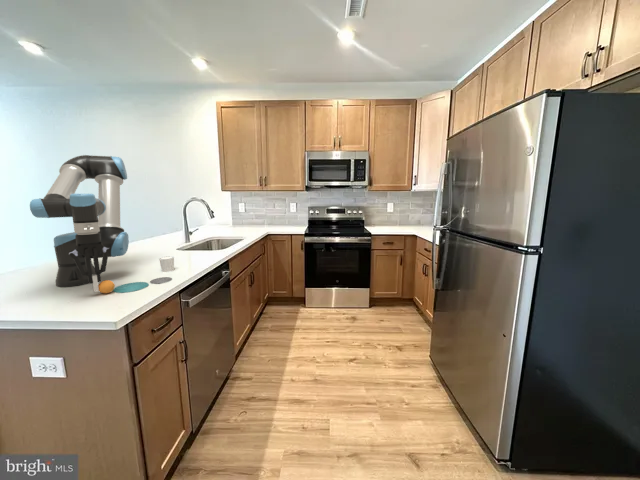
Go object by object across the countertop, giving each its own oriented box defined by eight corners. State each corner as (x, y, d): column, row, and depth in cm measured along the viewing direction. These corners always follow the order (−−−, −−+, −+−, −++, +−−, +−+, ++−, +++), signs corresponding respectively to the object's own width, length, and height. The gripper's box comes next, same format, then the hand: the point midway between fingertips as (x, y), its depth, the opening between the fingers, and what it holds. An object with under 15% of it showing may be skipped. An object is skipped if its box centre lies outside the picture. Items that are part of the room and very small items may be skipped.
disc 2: (145, 283, 123) (145, 282, 123) (160, 277, 132) (160, 276, 132) (162, 284, 122) (161, 284, 122) (176, 278, 130) (176, 277, 130)
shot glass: (164, 268, 146) (163, 256, 145) (177, 268, 147) (176, 256, 146) (158, 272, 140) (156, 259, 138) (171, 272, 140) (170, 259, 139)
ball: (91, 287, 108) (101, 276, 110) (101, 290, 113) (111, 279, 115) (100, 294, 107) (111, 282, 109) (110, 297, 112) (120, 285, 114)
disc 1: (105, 291, 113) (104, 291, 113) (131, 281, 126) (131, 281, 125) (130, 293, 110) (130, 293, 110) (155, 283, 123) (155, 282, 123)
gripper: (66, 236, 97) (76, 297, 101) (110, 232, 107) (117, 288, 111) (64, 234, 102) (73, 292, 106) (106, 230, 112) (113, 284, 116)
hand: (96, 290), depth 109 cm, fingers closed
